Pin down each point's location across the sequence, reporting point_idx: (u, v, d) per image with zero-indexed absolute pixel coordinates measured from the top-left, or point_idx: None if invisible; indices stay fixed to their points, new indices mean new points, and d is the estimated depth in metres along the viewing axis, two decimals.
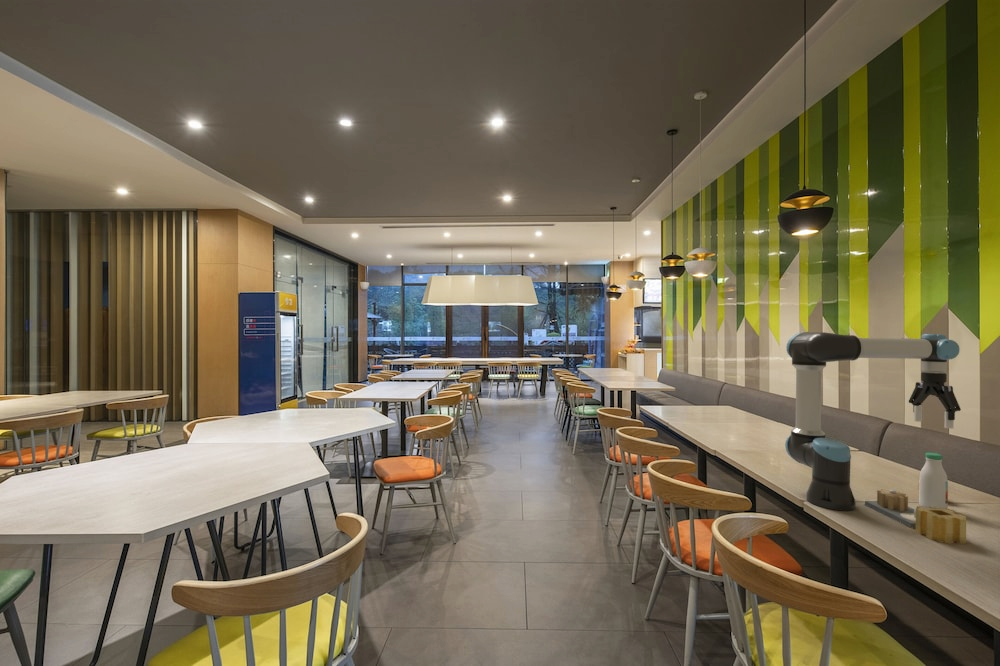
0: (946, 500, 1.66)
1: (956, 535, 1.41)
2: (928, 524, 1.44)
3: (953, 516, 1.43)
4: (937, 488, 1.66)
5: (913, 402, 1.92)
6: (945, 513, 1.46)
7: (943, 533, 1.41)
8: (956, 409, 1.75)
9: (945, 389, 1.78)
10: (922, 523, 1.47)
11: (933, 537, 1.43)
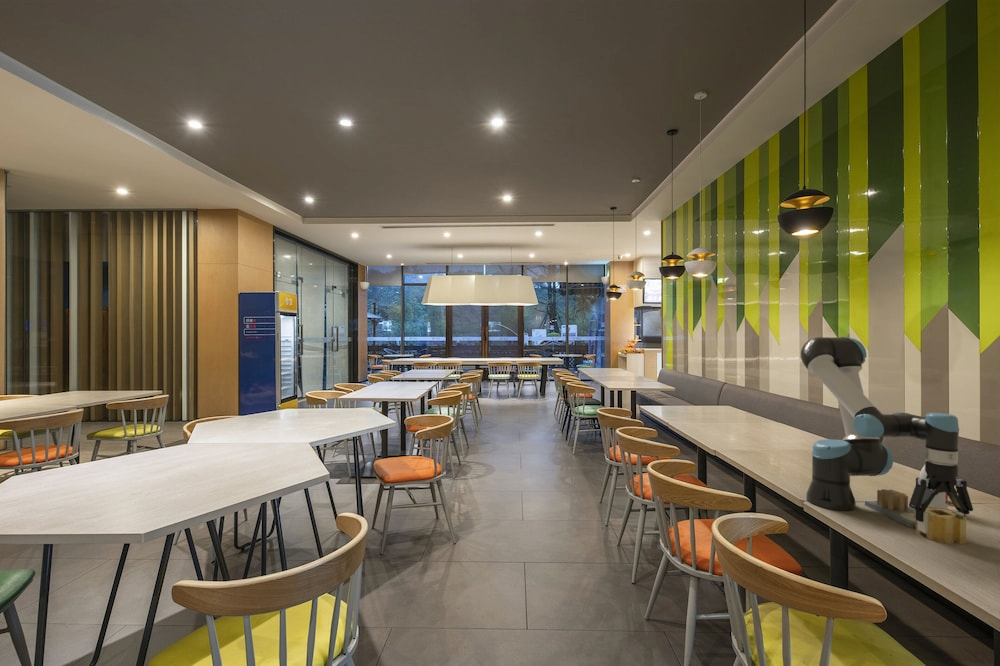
0: (946, 500, 1.66)
1: (956, 535, 1.41)
2: (928, 524, 1.44)
3: (953, 516, 1.43)
4: None
5: None
6: (945, 513, 1.46)
7: (943, 533, 1.41)
8: (911, 506, 1.46)
9: None
10: None
11: (933, 537, 1.43)
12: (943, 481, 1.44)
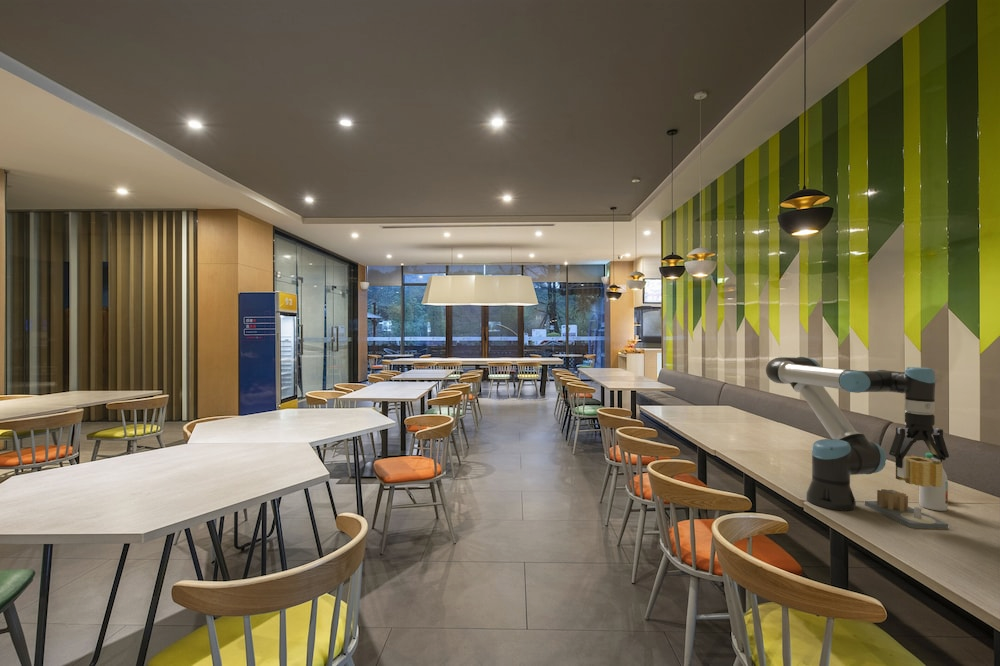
0: (946, 500, 1.66)
1: (933, 479, 1.51)
2: (907, 470, 1.54)
3: (930, 462, 1.53)
4: (937, 488, 1.66)
5: None
6: (923, 460, 1.56)
7: (920, 477, 1.52)
8: (891, 453, 1.56)
9: None
10: None
11: (911, 481, 1.53)
12: (921, 430, 1.55)
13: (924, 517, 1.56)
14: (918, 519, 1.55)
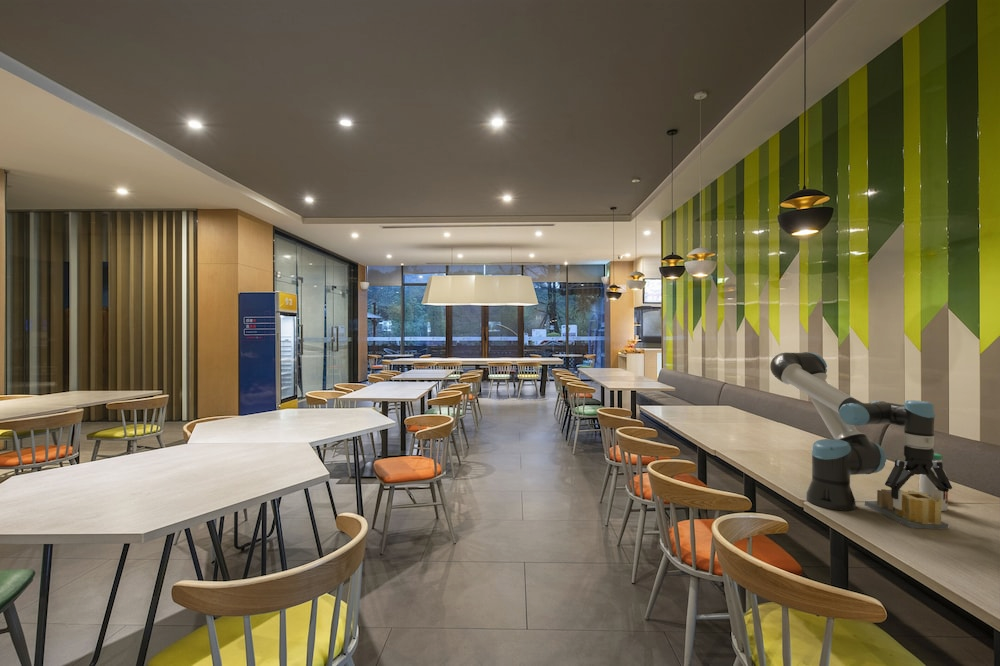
0: (946, 500, 1.66)
1: (932, 516, 1.52)
2: (906, 506, 1.54)
3: (929, 499, 1.53)
4: None
5: None
6: (922, 496, 1.56)
7: (919, 514, 1.52)
8: (887, 484, 1.57)
9: None
10: None
11: (910, 518, 1.53)
12: (920, 464, 1.55)
13: None
14: None
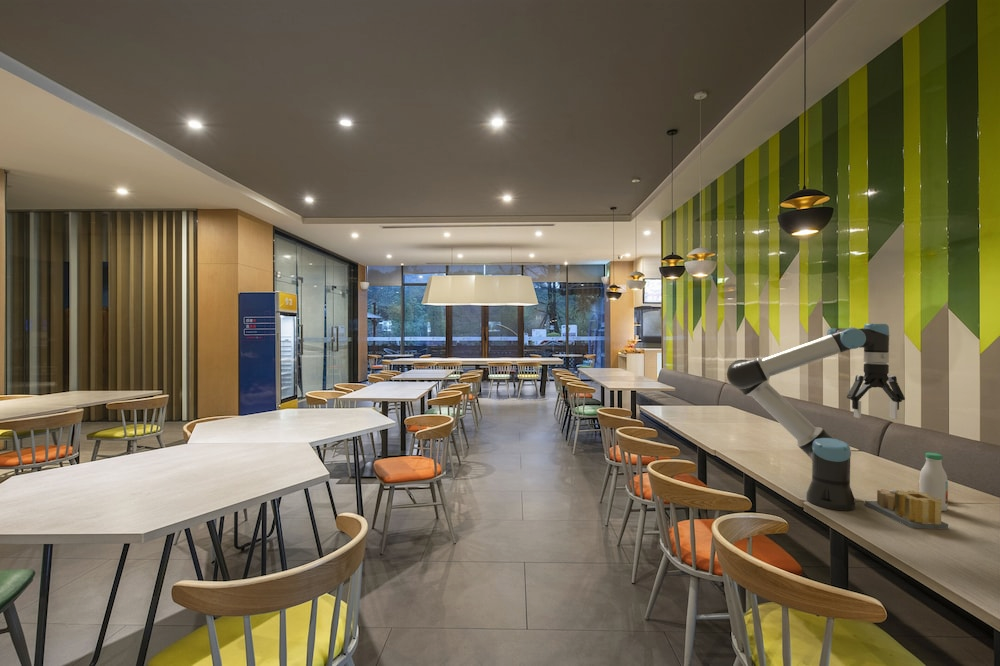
0: (946, 500, 1.66)
1: (932, 516, 1.52)
2: (906, 506, 1.54)
3: (929, 499, 1.53)
4: (937, 488, 1.66)
5: None
6: (922, 496, 1.56)
7: (919, 514, 1.52)
8: (848, 397, 1.78)
9: None
10: (901, 506, 1.57)
11: (910, 518, 1.53)
12: (877, 378, 1.76)
13: None
14: None
